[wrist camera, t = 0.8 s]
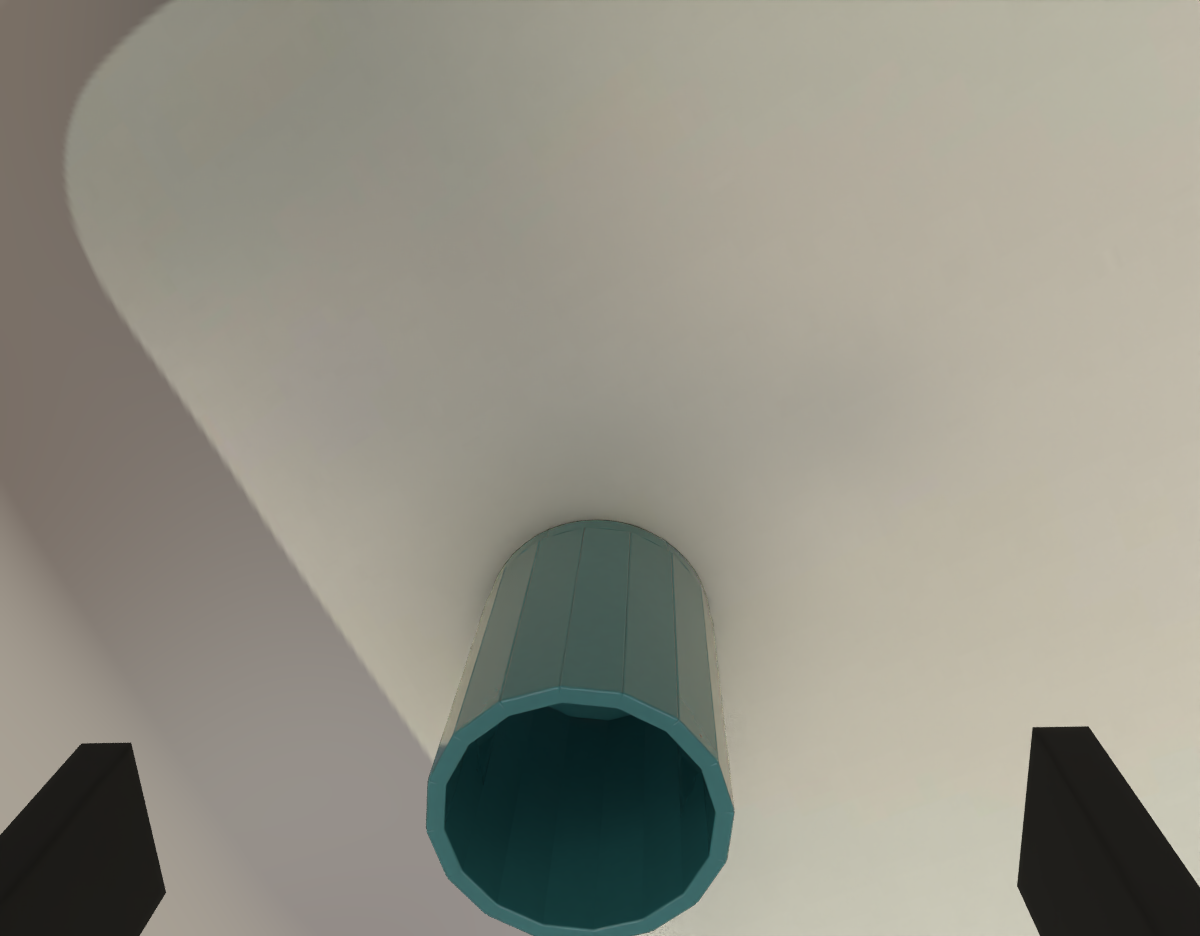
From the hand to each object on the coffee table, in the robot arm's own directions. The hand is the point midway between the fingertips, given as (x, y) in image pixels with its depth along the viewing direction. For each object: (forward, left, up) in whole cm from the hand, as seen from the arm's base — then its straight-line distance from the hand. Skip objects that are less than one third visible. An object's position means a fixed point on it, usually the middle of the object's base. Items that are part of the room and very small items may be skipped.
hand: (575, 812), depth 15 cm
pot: (+7, -3, -21) cm, 22 cm away
